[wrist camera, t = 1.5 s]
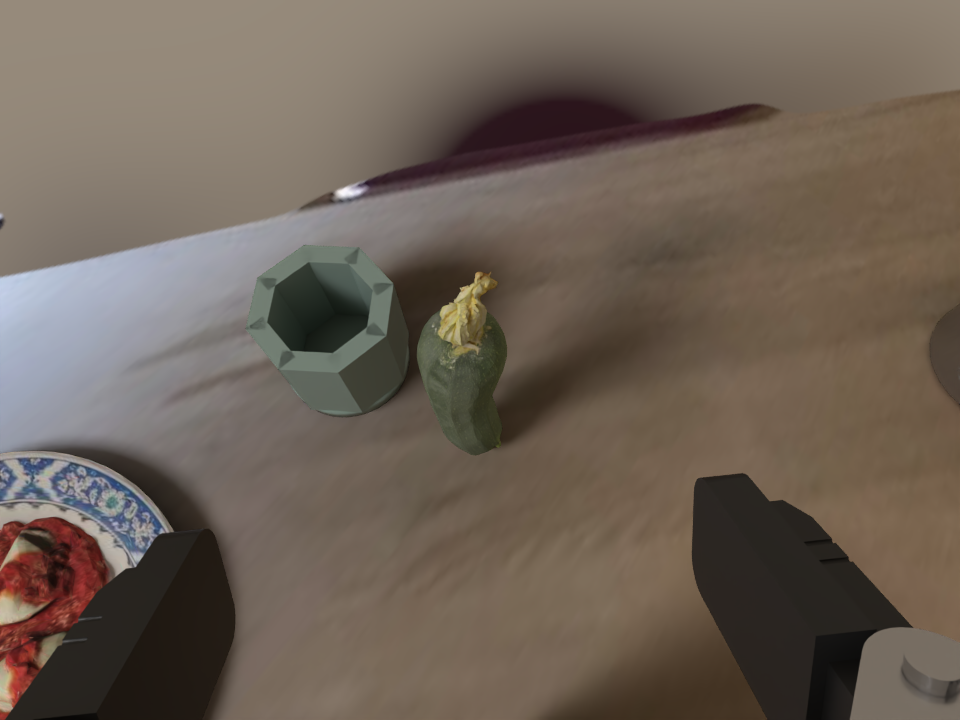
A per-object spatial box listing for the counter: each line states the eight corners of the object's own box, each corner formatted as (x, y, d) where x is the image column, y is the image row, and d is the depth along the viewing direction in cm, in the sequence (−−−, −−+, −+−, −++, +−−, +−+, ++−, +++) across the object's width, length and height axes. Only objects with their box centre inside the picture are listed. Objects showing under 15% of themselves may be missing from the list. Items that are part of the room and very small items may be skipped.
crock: (361, 284, 49) (336, 221, 42) (434, 363, 46) (421, 310, 39) (265, 354, 47) (221, 301, 40) (335, 442, 44) (302, 402, 37)
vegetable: (443, 469, 43) (398, 341, 25) (437, 407, 45) (391, 244, 27) (510, 461, 43) (514, 327, 25) (502, 400, 45) (500, 232, 27)
